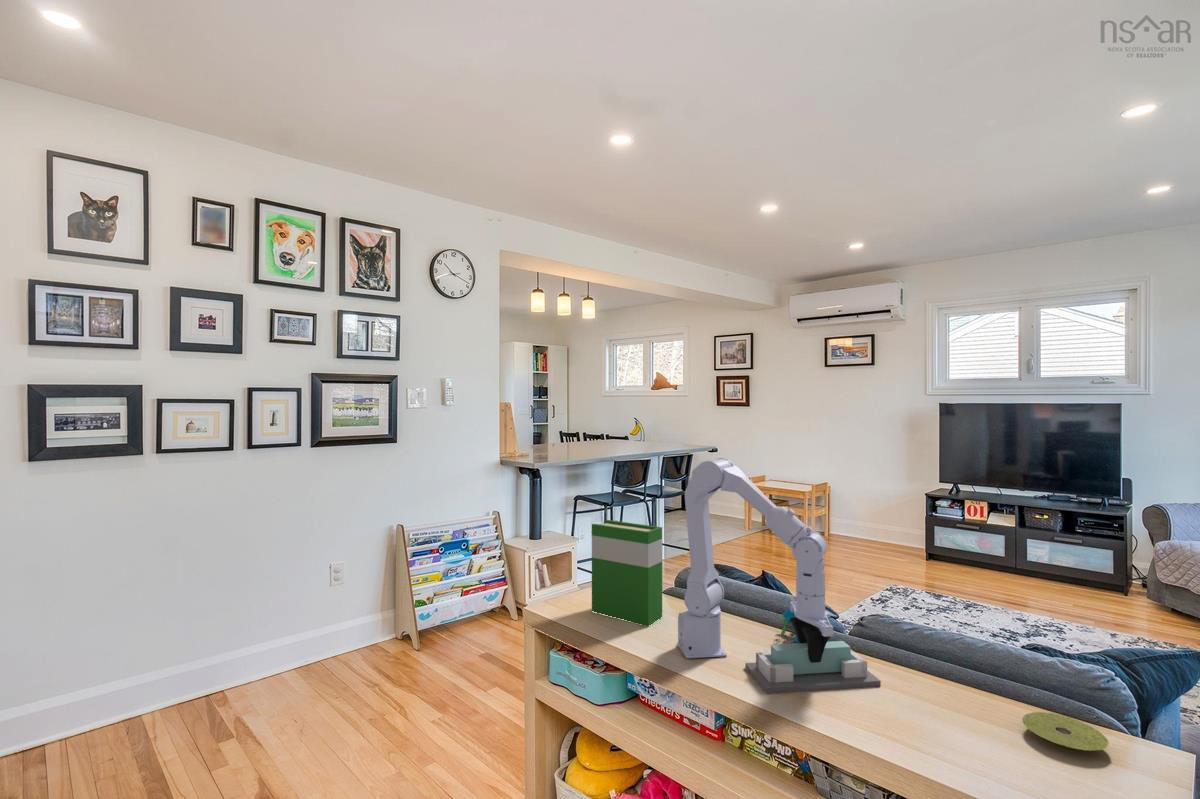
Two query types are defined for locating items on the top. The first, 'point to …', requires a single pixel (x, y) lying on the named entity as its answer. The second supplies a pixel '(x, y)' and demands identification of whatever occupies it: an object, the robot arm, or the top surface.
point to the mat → (1065, 731)
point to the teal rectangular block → (800, 658)
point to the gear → (788, 622)
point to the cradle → (809, 676)
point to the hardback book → (627, 571)
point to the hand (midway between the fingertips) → (810, 657)
